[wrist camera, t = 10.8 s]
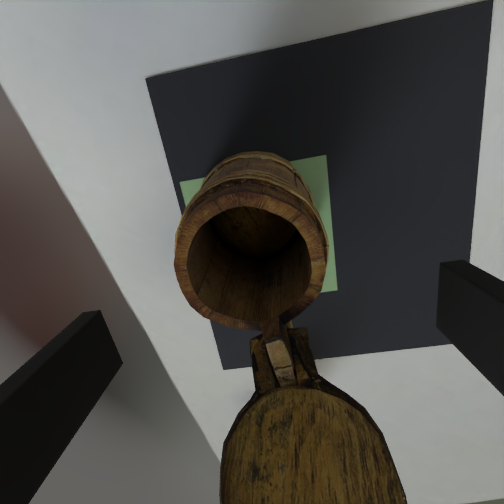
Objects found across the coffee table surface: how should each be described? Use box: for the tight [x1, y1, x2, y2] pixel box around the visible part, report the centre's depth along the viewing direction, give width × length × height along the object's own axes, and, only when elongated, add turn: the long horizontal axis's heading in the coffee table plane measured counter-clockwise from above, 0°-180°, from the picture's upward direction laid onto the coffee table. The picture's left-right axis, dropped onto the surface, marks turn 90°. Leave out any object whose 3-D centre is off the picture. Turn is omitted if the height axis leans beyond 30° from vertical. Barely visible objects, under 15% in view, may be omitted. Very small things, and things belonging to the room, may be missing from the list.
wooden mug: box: [174, 151, 407, 504], centre depth 13 cm, size 9×14×18 cm, turn 18°
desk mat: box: [145, 0, 493, 370], centre depth 21 cm, size 25×22×1 cm
